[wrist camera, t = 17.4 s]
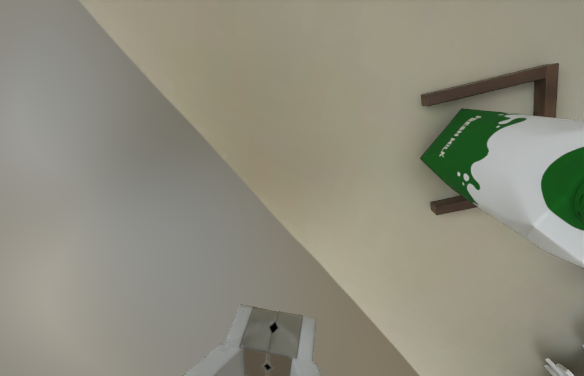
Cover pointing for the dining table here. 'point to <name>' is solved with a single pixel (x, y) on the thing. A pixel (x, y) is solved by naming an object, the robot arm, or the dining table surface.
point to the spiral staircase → (558, 368)
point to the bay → (542, 98)
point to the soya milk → (519, 174)
